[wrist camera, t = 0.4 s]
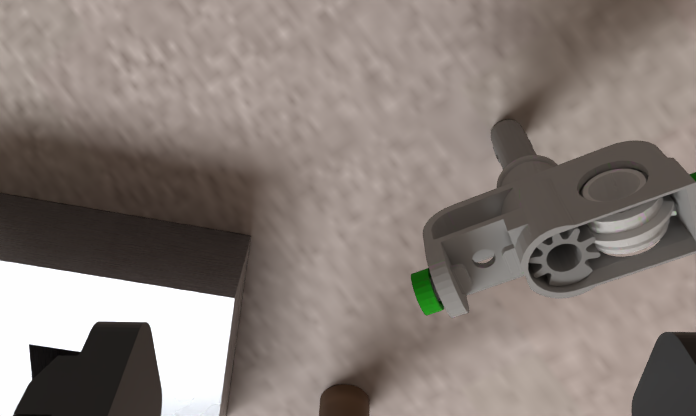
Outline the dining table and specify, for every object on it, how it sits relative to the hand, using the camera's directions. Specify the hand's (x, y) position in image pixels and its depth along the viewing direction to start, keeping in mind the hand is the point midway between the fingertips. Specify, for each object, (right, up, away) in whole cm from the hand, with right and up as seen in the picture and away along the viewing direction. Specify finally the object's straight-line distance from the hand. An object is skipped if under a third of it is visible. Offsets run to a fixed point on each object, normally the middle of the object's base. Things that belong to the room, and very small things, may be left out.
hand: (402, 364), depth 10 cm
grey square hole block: (-14, -4, +25) cm, 29 cm away
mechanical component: (+7, +6, +19) cm, 21 cm away
